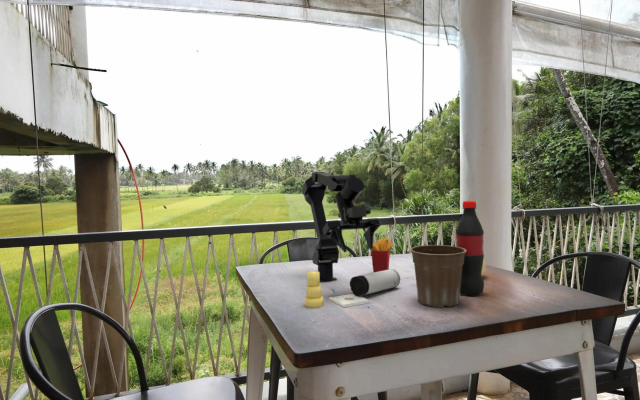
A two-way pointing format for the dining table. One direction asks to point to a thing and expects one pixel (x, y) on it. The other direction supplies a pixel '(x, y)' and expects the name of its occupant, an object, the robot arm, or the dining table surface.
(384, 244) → the french fries
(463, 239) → the cola bottle
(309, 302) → the yellow domed knob
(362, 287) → the travel mug
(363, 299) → the tile
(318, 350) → the dining table surface
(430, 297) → the plant pot
